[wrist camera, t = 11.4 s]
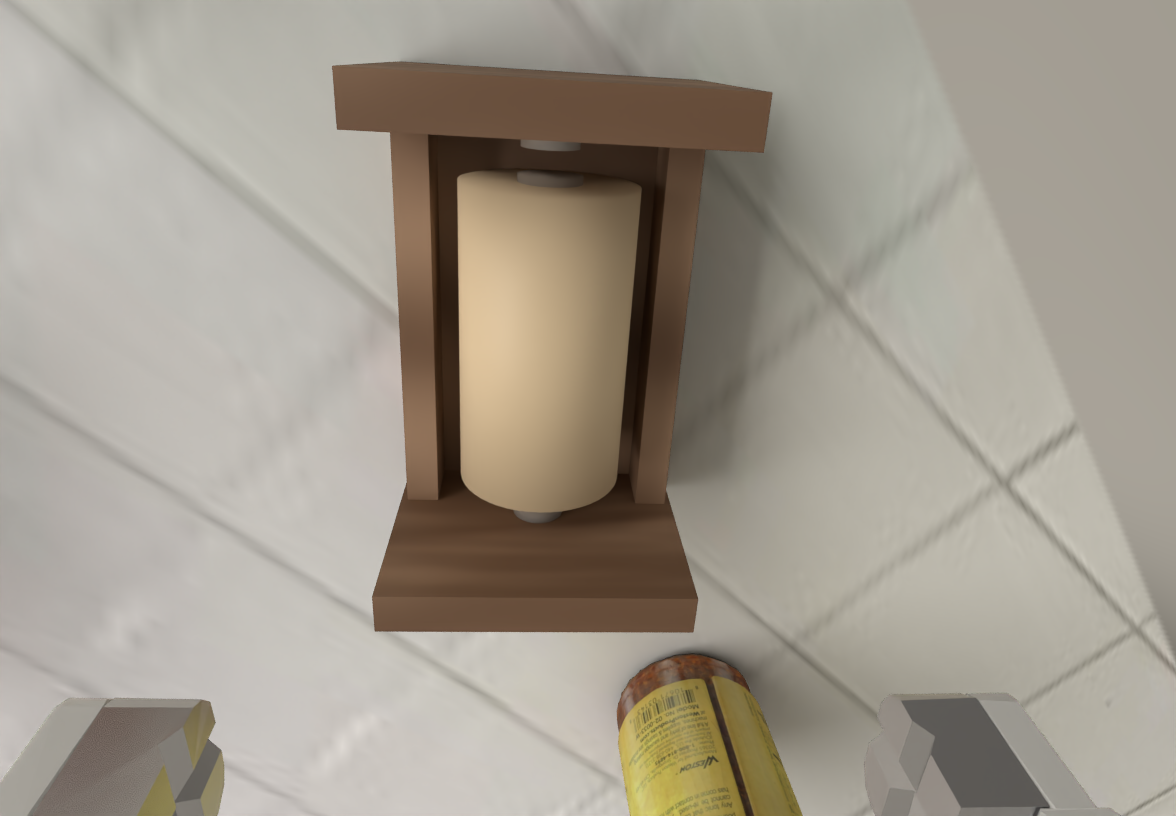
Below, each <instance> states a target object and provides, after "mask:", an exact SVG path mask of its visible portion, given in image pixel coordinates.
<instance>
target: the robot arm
mask: <svg viewBox="0 0 1176 816" xmlns="http://www.w3.org/2000/svg"><path fill="white" fill-rule="evenodd" d="M877 718H878V720H879V722H880V724H881V726H882V728H883V732H882V733H880V734H879V735H878V736H877V737H876V738H874V739H873V740H872V741H871V742H870V743H869V745H868V749H867V753H866V758H865V762H864V768H865V786H866V790H867V794H868V797H869V801H870V805H871V807H872V809H873V812H874V814H875V816H1121V815H1120V814H1118V813H1117V812H1115V811H1114V810H1112V809H1111V808H1097V807H1096V805H1095V804H1094V803H1093V801H1092V800H1091V799H1090V797H1089V796H1088V795H1087V793H1086V792H1085V791H1084V789H1083V788H1082V787H1081V785H1080V784H1079V783H1078V781H1077V780H1076V778H1075V777H1074V776H1073V774H1072V773H1071V772H1070V770H1069V769H1068V768H1067V766H1066V765H1065V764H1064V762H1063V761H1062V760H1061V758H1060V757H1059V756H1058V754H1057V753H1056V752H1055V750H1054V749H1053V747H1052V746H1051V745H1050V743H1049V742H1048V741H1047V739H1046V738H1045V737H1044V735H1043V734H1042V733H1041V731H1040V730H1039V729H1038V727H1037V726H1036V725H1035V723H1034V722H1033V721H1032V719H1031V718H1030V717H1029V715H1028V714H1027V712H1026V711H1025V710H1024V708H1023V707H1022V706H1021V704H1020V703H1019V702H1018V701H1017V700H1016V699H1015V698H1014V697H1012V696H1011V695H1009V694H1008V693H967V694H962V693H950V694H893V695H888V696H887V697H886V698H885V699H884V700H883V701H882V702H881V706H880V709H879V712H878V715H877ZM215 723H216V722H215V718H214V715H213V711H212V707H211V703H210V702H209V701H205V700H198V699H146V698H114V699H106V698H68V699H67V700H65V701H64V702H62V703H61V704H59V705H58V706H56V707H55V708H54V709H53V710H52V712H51V713H50V714H49V716H48V717H47V719H46V720H45V721H44V723H43V724H42V725H41V727H40V728H39V730H38V731H37V732H36V734H35V735H34V736H33V738H32V739H31V741H30V742H29V743H28V745H27V746H26V747H25V749H24V750H23V751H22V753H21V754H20V756H19V757H18V758H17V760H16V761H15V762H14V764H13V765H12V767H11V768H10V769H9V771H8V772H7V773H6V775H5V776H4V778H3V779H2V780H1V782H0V816H217V815H218V812H219V807H220V803H221V798H222V793H223V788H224V762H223V756H222V751H221V750H220V749H219V748H218V747H217V746H216V745H215V744H213V743H212V742H211V741H210V740H209V739H208V738H209V736H210V734H211V731H212V729H213V727H214V725H215Z"/></svg>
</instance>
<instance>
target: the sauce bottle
mask: <svg viewBox="0 0 1176 816" xmlns="http://www.w3.org/2000/svg"><path fill="white" fill-rule="evenodd" d="M617 721H618V729H619V740H618V745H619V752H620V758H621V765H622V771H623V777H624V783H625V789H626V795H627V800H628V806H629V812H630V816H803V815H802V813H801V810H800V808H799V805H798V802H797V800H796V797H795V795H794V792H793V790H792V787H791V784H790V782H789V779H788V777H787V774H786V772H785V770H784V767H783V765H782V762H781V759H780V757H779V754H778V752H777V749H776V747H775V744H774V741H773V739H772V736H771V734H770V731H769V729H768V726H767V724H766V721H765V719H764V716H763V714H762V711H761V709H760V706H759V704H758V702H757V701H756V699H755V698H754V697H753V695H752V694H751V693H750V690H749V687H748V685H747V683H746V681H745V679H744V678H743V676H742V675H741V673H740V672H739V671H738V670H737V669H735V668H733V667H731V666H730V665H728V664H727V663H725V662H722V661H719V660H716V659H713V658H710V657H706V656H702V655H696V654H687V655H674V656H673V657H670V658H666V659H664V660H662V661H657V662H654V663H652V664H650V665H648V666H647V667H646V668H644V669H643V670H640V672H639V673H638V674H637V675H636V676H635V677H633V678H632V679H630V681H629V683H628V685H627V686H626V688H625V689H624V691H623V692H622V694H621V698H620V701H619V703H618V708H617Z"/></svg>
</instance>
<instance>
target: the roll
mask: <svg viewBox="0 0 1176 816" xmlns="http://www.w3.org/2000/svg"><path fill="white" fill-rule="evenodd" d="M641 191H642V188H641V186H639V185H638V184H636V183H634V182H631V181H628V180H624V179H620V178H616V177H611V176H605V175H599V174H592V173H584V172H575V171H563V170H548V169H493V170H482V171H474V172H469V173H465V174H462V175H460V176H459V177H458V178H457V197H458V279H459V361H460V444H461V477H462V480H463V482H464V484H465V485H466V486H467V488H468V489H469V490H470V491H471V492H472V493H474V494H475V495H476V496H478V497H480V498H481V499H483V500H485V501H487V502H489V503H492V504H494V505H497V506H500V507H504V508H507V509H512V510H517V511H525V512H540V513H542V512H560V511H567V510H572V509H576V508H580V507H584V506H586V505H589V504H592V503H594V502H596V501H598V500H600V499H601V498H603V497H604V496H605V495H607V494H608V493H609V492H610V491H611V489H612V488H613V487H614V485H615V483H616V479H617V470H618V459H619V447H620V435H621V424H622V412H623V401H624V389H625V377H626V366H627V354H628V342H629V331H630V319H631V308H632V296H633V284H634V273H635V261H636V250H637V238H638V226H639V215H640V203H641Z"/></svg>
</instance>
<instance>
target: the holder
mask: <svg viewBox="0 0 1176 816" xmlns="http://www.w3.org/2000/svg"><path fill="white" fill-rule="evenodd" d="M332 70H333V83H334V96H335V110H336V123H337V129H338V130H356V131H375V132H390V140H391V161H392V182H393V203H394V224H395V245H396V266H397V286H398V307H399V328H400V349H401V370H402V391H403V411H404V432H405V453H406V474H407V483H406V487H405V490H404V493H403V496H402V500H401V503H400V506H399V510H398V513H397V516H396V520H395V523H394V526H393V530H392V533H391V536H390V539H389V543H388V546H387V549H386V553H385V556H384V559H383V563H382V566H381V569H380V573H379V576H378V579H377V583H376V586H375V589H374V592H373V596H372V601H373V614H374V627H375V631H407V632H693V631H694V624H695V617H696V611H697V604H698V597H697V593H696V590H695V587H694V583H693V580H692V576H691V573H690V570H689V566H688V563H687V559H686V556H685V553H684V549H683V546H682V543H681V539H680V536H679V532H678V529H677V526H676V522H675V519H674V516H673V512H672V509H671V505H670V502H669V499H668V495H667V492H666V485H667V476H668V468H669V459H670V450H671V442H672V433H673V424H674V416H675V407H676V399H677V390H678V381H679V373H680V364H681V356H682V347H683V338H684V330H685V321H686V313H687V304H688V295H689V287H690V278H691V269H692V261H693V252H694V244H695V235H696V226H697V218H698V209H699V201H700V192H701V183H702V175H703V166H704V158H705V149H706V150H724V151H743V152H761V153H764V147H765V140H766V134H767V127H768V120H769V113H770V106H771V100H772V92H766V91H760V90H754V89H748V88H742V87H737V86H731V85H725V84H719V83H713V82H707V81H701V80H689V79H672V78H656V77H640V76H624V75H607V74H591V73H575V72H559V71H543V70H526V69H510V68H494V67H478V66H461V65H445V64H429V63H413V62H384V63H368V64H353V65H337V66H332ZM493 169H548V170H563V171H575V172H584V173H592V174H599V175H605V176H611V177H616V178H620V179H624V180H628V181H631V182H634V183H636V184H638V185H639V186H641V188H642V191H641V203H640V215H639V226H638V238H637V250H636V261H635V273H634V284H633V296H632V308H631V319H630V331H629V342H628V354H627V366H626V377H625V389H624V401H623V412H622V424H621V435H620V447H619V459H618V470H617V479H616V483H615V485H614V487H613V488H612V489H611V491H610V492H609V493H608V494H607V495H605V496H604V497H603V498H601V499H600V500H598V501H596V502H594V503H592V504H589V505H586V506H584V507H580V508H576V509H572V510H567V511H560V512H542V513H540V512H525V511H517V510H512V509H507V508H504V507H500V506H497V505H494V504H492V503H489V502H487V501H485V500H483V499H481V498H480V497H478V496H476V495H475V494H474V493H472V492H471V491H470V490H469V489H468V488H467V486H466V485H465V484H464V482H463V480H462V477H461V444H460V361H459V279H458V197H457V178H458V177H459V176H460V175H462V174H465V173H469V172H474V171H482V170H493Z"/></svg>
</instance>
